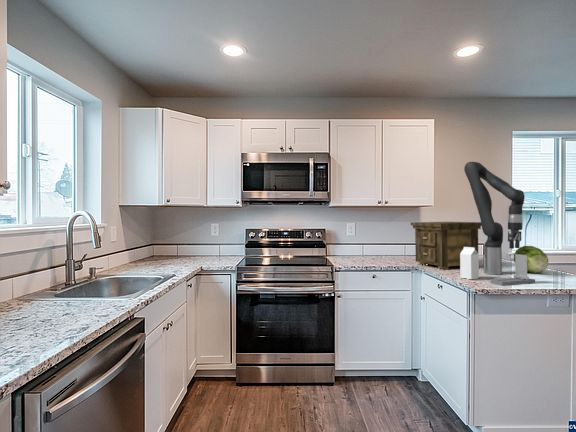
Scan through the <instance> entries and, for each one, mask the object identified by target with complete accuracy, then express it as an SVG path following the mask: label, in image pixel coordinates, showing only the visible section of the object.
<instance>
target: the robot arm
mask: <svg viewBox="0 0 576 432" xmlns="http://www.w3.org/2000/svg"><path fill="white" fill-rule="evenodd" d="M463 170H464V174H465V176H466V177H467V180H468V183H469V186H470V188H471V189H470V190H471V192H472V194H473V195H472V196H473V199H474V202H475V205H476V208H477V212H478V214H479V215H478V216H479V219H480V222H481V225H482V226H481V229H482V232H483V234H484V235H485V236H486V237H487V239H486V241H485V243H484V258H483V274H486V275H487V274H488V275H493V276H495V275H503V265H502V264H503V263H502V262H503V259H502V258H503V257H502V254H503V253H502V252H503V251H502V250H503V249H502V244H503V242H504V228H503V226H502V224H501V223H499V222H497V221H496V222H495V220H494V217H493V213H492V208H493V207H492V206H493V204H492V202H493V201H492V198H491V195H490V192H489V190H488V188H487V187H486V185H485V183H483V181H484V182H486V183H487V184H488V185H489V186H491V187H492V188H493V189H494V190H495V191H497V192H499V193H501V194H502V195H503V197H505V198H507V199H509V200H510V201H511V203H510V205H509V206H508V215H507V230H509V231H508V232H507V242H509V247H508V248H509V249H511V250H512V249H514V248H515V249H519V248H520V247H521V246H520V242H522V230H523V224H524V222H523V217H524V216H523V207H524V203H525V192H524V191H523V190H522V189H517V188H515V187H513V186H511V184H510V183H508V182H507V181H505V180H503V179H502V178H501V177H499V176H497V175H495V174H494V173H492V172H491V171H489V170H488V169H487V168H486V167H485V166H484V165H483V164H482V163H480V162H477V161H469V162H466V163H465V165H464V169H463ZM482 180H483V181H482Z"/></svg>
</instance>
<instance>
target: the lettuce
mask: <svg viewBox="0 0 576 432" xmlns="http://www.w3.org/2000/svg"><path fill="white" fill-rule="evenodd" d="M515 254H521V255H527V273H529V274H538V273H542V272H543V271H545V270H547V268H548V267H549V257H548V256H547V254H546V253H545V252H544V251H543V250H542V249H541V248H539V247H536V246H533V245H523V246H519V248H516V250H515V252H514V253H513V261H514V263H515Z"/></svg>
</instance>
